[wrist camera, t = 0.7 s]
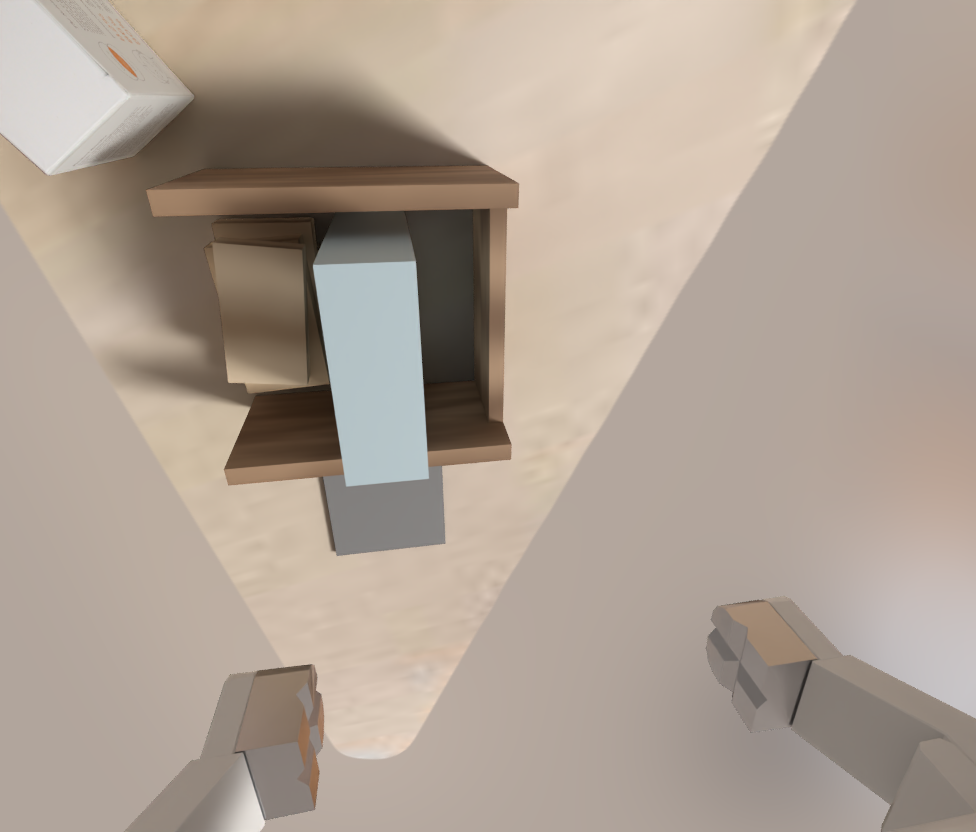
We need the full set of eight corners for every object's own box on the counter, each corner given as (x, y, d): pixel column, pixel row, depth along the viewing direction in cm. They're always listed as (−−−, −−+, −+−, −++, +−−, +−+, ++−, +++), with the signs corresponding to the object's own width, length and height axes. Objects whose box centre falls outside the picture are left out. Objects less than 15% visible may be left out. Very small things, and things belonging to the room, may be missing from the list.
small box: (4, 30, 30) (-159, -2, 21) (72, -44, 29) (-66, -111, 20) (134, 160, 34) (45, 180, 25) (199, 98, 33) (131, 96, 24)
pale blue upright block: (336, 209, 37) (312, 265, 24) (404, 207, 38) (415, 261, 25) (356, 372, 43) (346, 486, 30) (414, 368, 44) (428, 478, 31)
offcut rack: (204, 168, 35) (145, 189, 26) (487, 165, 37) (518, 183, 29) (258, 409, 43) (228, 485, 34) (486, 392, 46) (510, 459, 37)
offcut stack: (215, 218, 36) (191, 234, 32) (314, 217, 37) (304, 232, 33) (248, 371, 42) (232, 405, 37) (334, 367, 43) (328, 399, 38)
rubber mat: (314, 420, 44) (313, 424, 44) (438, 411, 46) (439, 414, 45) (337, 552, 51) (336, 555, 51) (444, 540, 53) (445, 543, 52)
